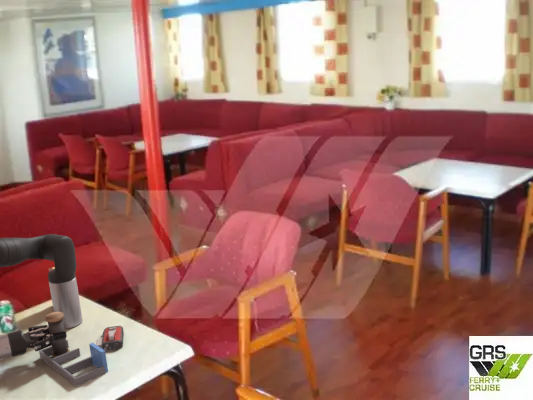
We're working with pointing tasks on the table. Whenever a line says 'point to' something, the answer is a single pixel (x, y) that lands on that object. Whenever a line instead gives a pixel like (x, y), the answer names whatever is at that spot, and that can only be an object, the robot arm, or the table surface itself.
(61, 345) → the cord spool
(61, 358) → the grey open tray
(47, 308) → the table surface
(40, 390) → the table surface
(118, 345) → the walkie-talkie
